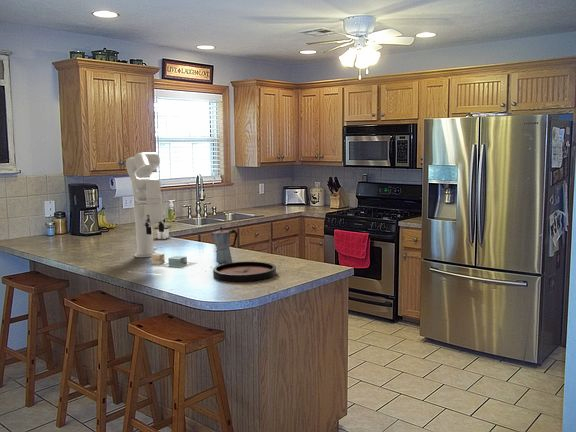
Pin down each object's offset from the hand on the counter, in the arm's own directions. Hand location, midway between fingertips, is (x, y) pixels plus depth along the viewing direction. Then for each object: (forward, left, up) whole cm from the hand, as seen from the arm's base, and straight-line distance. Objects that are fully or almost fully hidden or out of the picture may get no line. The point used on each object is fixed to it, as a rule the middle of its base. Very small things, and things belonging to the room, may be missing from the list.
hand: (155, 233), depth 303 cm
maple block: (-2, -1, -18) cm, 18 cm away
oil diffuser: (-80, -54, -19) cm, 98 cm away
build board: (-2, +12, -18) cm, 22 cm away
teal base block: (-2, +12, -17) cm, 21 cm away
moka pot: (-20, +31, -18) cm, 41 cm away
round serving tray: (+3, +56, -19) cm, 59 cm away
